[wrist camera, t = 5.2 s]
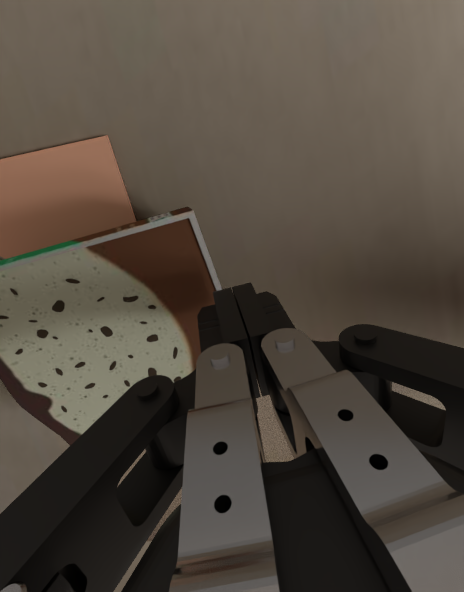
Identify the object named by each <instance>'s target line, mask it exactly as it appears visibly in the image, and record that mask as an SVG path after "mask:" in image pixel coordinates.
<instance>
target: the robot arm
mask: <svg viewBox="0 0 464 592" xmlns="http://www.w3.org/2000/svg"><path fill="white" fill-rule="evenodd" d="M232 289H233V293H232V290H231V288H227V289H223V290H218V291H214V292H213V297H214V302H215V304H214V305H210V306H206V307H202V308H201V310H200V312H199V313H198V315H197V319H198V329H199V339H200V349H201V354H200V355H199V357H198V359H197V363H196V369H195V370H194V371H193V372H192V373H190V374H189V375H187V376H186V377H184V378H182V379H180V380H178V381H176V382H174V383H173V381H172V380H171V379H170V378H169V377H167V376H163V375H154V376H149V377H146V378H144V379H142V380H140V381H138V382H136V383H135V384H134V385H133V386H131V387H130V388H129V389H128V390H127V391H126V392H125V393H124V394H123V395H122V396H121V397H120V398H119V399H118V400H117V401H116V402H115V403H114V404H113V405H112V406H111V407H110V408H109V409H108V410H107V411H106V412H105V413H104V414H103V415H102V416H101V417H99V418H98V419H97V420H96V421H95V422H94V423H93V424H92V425H91V426H90V427H89V428H88V429H87V430H86V431H85V432H84V433H83V434H82V435H81V436H80V437H79V438H78V439H77V440H76V441H75V442H74V443H73V444H72V445H71V446H70V447H69V448H68V449H67V450H66V451H65V452H64V453H63V454H62V455H60V456H59V457H58V458H57V459H56V460H55V461H54V462H53V463H52V464H51V465H50V466H49V467H48V468H47V469H46V470H45V471H44V472H43V473H42V474H41V475H40V476H39V477H38V478H37V479H36V480H35V481H34V482H33V483H32V484H31V485H30V486H29V487H28V488H27V489H26V490H25V491H24V492H23V493H21V494H20V495H19V496H18V497H17V498H16V499H15V500H14V501H13V502H12V503H11V504H10V505H9V506H8V507H7V508H6V509H5V510H4V511H3V512H2V513H1V514H0V592H113V591H114V590H115V588H116V587H117V585H118V583H119V582H120V580H121V579H122V577H123V576H124V574H125V573H126V571H127V570H128V568H129V567H130V565H131V564H132V562H133V561H134V559H135V558H136V556H137V554H138V553H139V551H140V550H141V548H142V546H143V545H144V544H145V542H146V541H147V539H148V538H149V536H150V535H151V533H152V532H153V530H154V529H155V527H156V526H157V524H158V522H159V521H160V519H161V518H162V516H163V515H164V513H165V512H166V510H167V509H168V507H169V506H170V504H171V503H172V501H173V500H174V498H175V497H176V495H177V494H178V492H179V490H180V489H181V487H182V500H181V504H180V505H179V506H178V507H177V508H176V509H175V510H174V511H173V512H172V513H171V515H170V516H169V517H168V518H167V519H166V521H165V522H164V523H163V525H162V526H161V528H160V529H159V531H158V532H157V534H156V535H155V537H154V539H153V540H152V542H151V544H150V545H149V547H148V549H147V550H146V552H145V554H144V555H143V557H142V558H141V560H140V562H139V563H138V565H137V567H136V568H135V570H134V572H133V573H132V575H131V577H130V578H129V580H128V581H127V583H126V585H125V586H124V588H123V590H122V591H121V592H464V348H460V347H456V346H452V345H449V344H445V343H441V342H437V341H433V340H429V339H425V338H421V337H417V336H414V335H410V334H406V333H402V332H398V331H394V330H390V329H386V328H382V327H378V326H374V325H367V324H362V325H354V326H351V327H348V328H346V329H345V330H343V331H342V332H341V333H340V335H339V341H332V342H318V341H312V340H310V338H309V337H308V336H307V335H306V334H305V333H304V332H303V331H301V330H298V329H295V327H294V325H293V324H292V322H291V320H290V319H289V317H288V315H287V314H286V312H285V310H284V309H283V307H282V305H281V304H280V302H279V300H278V299H277V297H276V296H275V295H273V294H271V293H269V292H263V293H259V294H256V292H255V290H254V288H253V286H252V284H251V283H247V284H243V285H239V286H235V287H232ZM233 294H234V295H233ZM256 378H257V379H256ZM257 381H258V383H257ZM392 382H394V383H397V384H400V385H403V386H406V387H408V388H411V389H414V390H417V391H420V392H422V393H425V394H428V395H431V396H433V397H435V398H436V399H438V400H439V401H440V402H441V403H442V404H443V405H444V406H445V408H446V410H442V409H439V408H437V407H434V406H431V405H429V404H426V403H423V402H421V401H418V400H415V399H413V398H410V397H407V396H405V395H402V394H399V393H397V392H394V391H392ZM258 384H259V387H260V390H261V394H262V396H265V395H269V394H270V397H271V400H272V405H273V410H274V414H275V417H276V419H277V421H278V424H279V426H280V428H281V430H282V433H283V435H284V437H285V439H286V441H287V444H288V446H289V448H290V450H291V453H292V455H293V457H294V460H292V461H288V462H266V460H265V454H264V449H263V443H262V437H261V432H260V426H259V421H258V416H257V413H258V406H257V402H256V398H258V397H260V393H259V388H258ZM144 449H145V450H146V453H145V454H144V455H143V456H142V458H141V459H140V460H139V461H138V463H137V464H136V465H135V466H134V468H133V469H132V470H131V471H130V473H129V474H128V475H127V476H126V477H125V479H124V480H123V481H122V482H121V484H120V485H119V486H118V483H119V481H120V479H121V477H122V476H123V475H124V473H125V472H126V471H127V470H128V469H129V467H130V466H131V465H132V464H133V463H134V461H135V460H136V459H137V458H138V456H139V455H140V454H141V453H142V452H143V450H144ZM117 486H118V487H117Z"/></svg>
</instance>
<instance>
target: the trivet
mask: <svg viewBox="0 0 464 592" xmlns="http://www.w3.org/2000/svg"><path fill="white" fill-rule="evenodd" d="M133 222H136V218H135V215H134V212H133V209H132V206H131V203H130V200H129V197H128V194H127V191H126V188H125V185H124V182H123V179H122V176H121V173H120V170H119V167H118V164H117V161H116V158H115V155H114V153H113V150H112V147H111V144H110V141H109V138H108V135H106V136H102V137H97V138H93V139H88V140H84V141H79V142H75V143H70V144H66V145H61V146H57V147H53V148H48V149H44V150H39V151H35V152H30V153H26V154H21V155H17V156H13V157H8V158H4V159H0V256H1V257H3V258H5V259H8V258H11V257H14V256H18V255H21V254H25V253H28V252H32V251H35V250H39V249H42V248H46V247H49V246H53V245H56V244H60V243H63V242H67V241H70V240H74V239H77V238H81V237H84V236H87V235H91V234H94V233H98V232H101V231H105V230H108V229H112V228H115V227H119V226H122V225H126V224H129V223H133Z"/></svg>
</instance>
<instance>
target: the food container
mask: <svg viewBox="0 0 464 592" xmlns="http://www.w3.org/2000/svg"><path fill="white" fill-rule="evenodd" d="M218 290H222V288H221V285H220V282H219V280H218V277H217V274H216V271H215V269H214V266H213V263H212V260H211V258H210V255H209V252H208V249H207V247H206V244H205V241H204V238H203V236H202V233H201V230H200V228H199V225H198V222H197V219H196V217H195V214H194V211H193V210H192V209H190V208H189V207H185V208H181V209H178V210H174V211H171V212H167V213H164V214H160V215H157V216H153V217H150V218H147V219H143V220H140V221H136V222H133V223H129V224H126V225H122V226H119V227H115V228H112V229H108V230H105V231H101V232H98V233H94V234H91V235H87V236H84V237H81V238H77V239H74V240H70V241H67V242H63V243H60V244H56V245H53V246H49V247H46V248H42V249H39V250H35V251H32V252H28V253H25V254H21V255H18V256H14V257H11V258H8V259H5V258H3V257H1V256H0V379H1V380H2V382H3V383H4V385H5V387H6V388H7V390H8V391H9V392H10V394H11V395H12V396H13V398H14V399H15V400H16V402H17V403H18V404H19V405H20V406H21V407H22V408H24V409H25V410H26V411H27V412H29V413H30V414H31V415H32V416H34V417H35V418H36V419H38V420H39V421H40V422H42V423H43V424H45V425H46V426H47V427H49V428H50V429H51V430H53V431H54V432H56V433H57V434H58V435H60V436H61V437H62V438H63V439H64V440H65V441H66V442H67V443H68V444H69V445H70V446H71V445H72V444H73V443H74V442H75V441H76V440H77V439H78V438H79V437H80V436H81V435H82V434H83V433H84V432H85V431H86V430H87V429H88V428H89V427H90V426H91V425H92V424H93V423H94V422H95V421H96V420H97V419H98V418H99V417H101V416H102V415H103V414H104V413H105V412H106V411H107V410H108V409H109V408H110V407H111V406H112V405H113V404H114V403H115V402H116V401H117V400H118V399H119V398H120V397H121V396H122V395H123V394H124V393H125V392H126V391H127V390H128V389H129V388H130V387H131V386H133V385H134V384H135V383H136V382H138V381H140V380H142V379H144V378H146V377H149V376H154V375H163V376H167V377H169V378H170V379H171V380H172V381H173V383H174V382H176V381H178V380H180V379H182V378H184V377H186V376H187V375H189V374H190V373H192V372H193V371H194V370H195V369H196V363H197V359H198V357H199V355H200V354H201V349H200V339H199V329H198V319H197V315H198V313H199V312H200V310H201V308H202V307H206V306H210V305H214V304H215V302H214V297H213V292H214V291H218Z"/></svg>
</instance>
